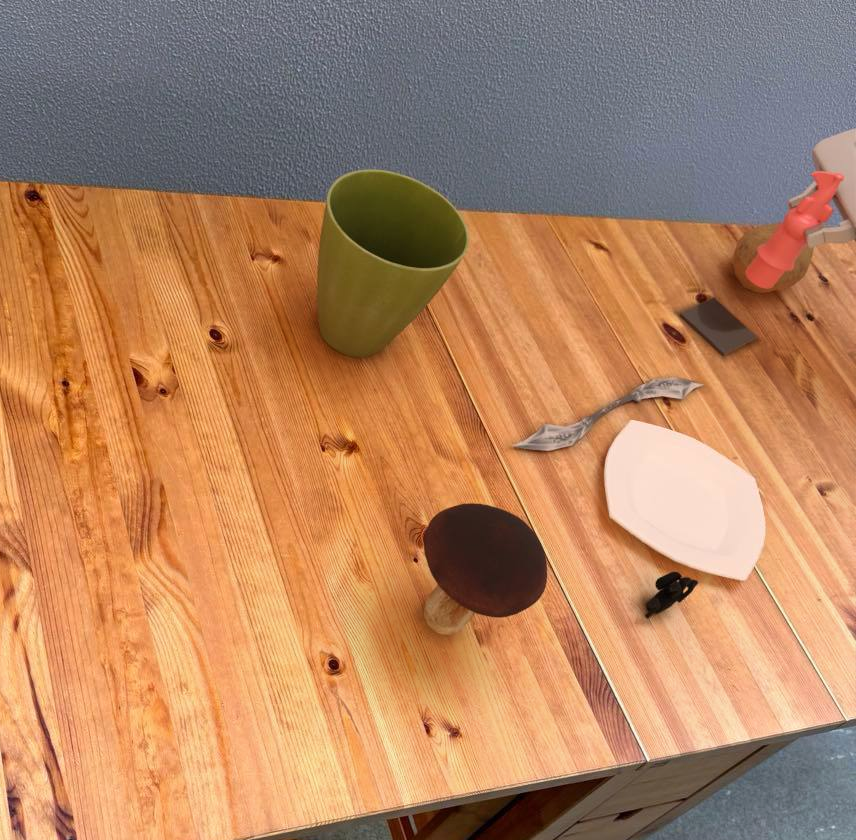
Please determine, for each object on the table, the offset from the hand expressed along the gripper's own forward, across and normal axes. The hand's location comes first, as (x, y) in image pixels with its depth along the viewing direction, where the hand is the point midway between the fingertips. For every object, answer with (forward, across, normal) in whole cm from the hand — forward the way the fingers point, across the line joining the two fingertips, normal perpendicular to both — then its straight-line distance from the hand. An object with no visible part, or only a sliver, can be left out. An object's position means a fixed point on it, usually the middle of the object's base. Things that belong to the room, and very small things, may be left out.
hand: (797, 224), depth 115 cm
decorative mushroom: (+44, +49, -20) cm, 69 cm away
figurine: (+6, 0, +6) cm, 9 cm away
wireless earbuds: (+28, +45, -3) cm, 52 cm away
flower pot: (+48, +13, -24) cm, 56 cm away
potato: (+5, -12, +19) cm, 23 cm away
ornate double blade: (+26, +19, -2) cm, 32 cm away
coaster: (+11, 0, +12) cm, 17 cm away
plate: (+23, +31, +2) cm, 39 cm away
